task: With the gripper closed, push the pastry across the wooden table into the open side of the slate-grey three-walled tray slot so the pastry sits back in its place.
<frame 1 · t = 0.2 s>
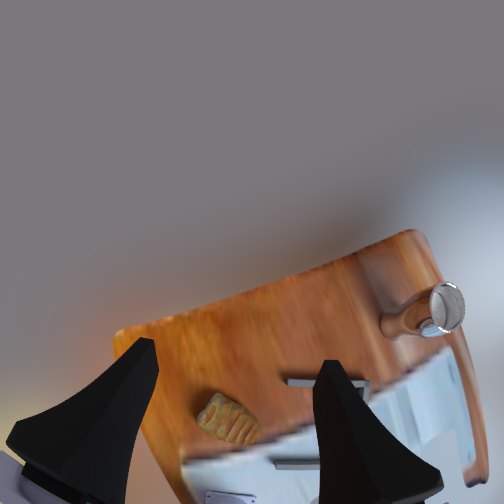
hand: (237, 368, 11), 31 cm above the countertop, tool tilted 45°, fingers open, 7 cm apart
pastry: (228, 417, 37), on the countertop
beer glass: (394, 323, 42), on the countertop
tray slot: (319, 424, 36), on the countertop
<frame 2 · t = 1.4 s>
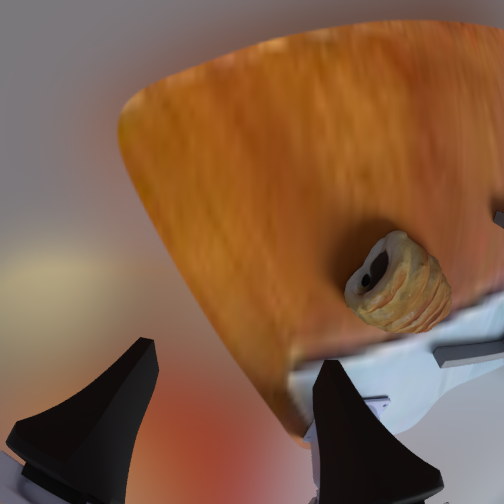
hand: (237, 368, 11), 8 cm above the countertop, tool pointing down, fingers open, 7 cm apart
pastry: (397, 278, 19), on the countertop
tray slot: (502, 293, 19), on the countertop
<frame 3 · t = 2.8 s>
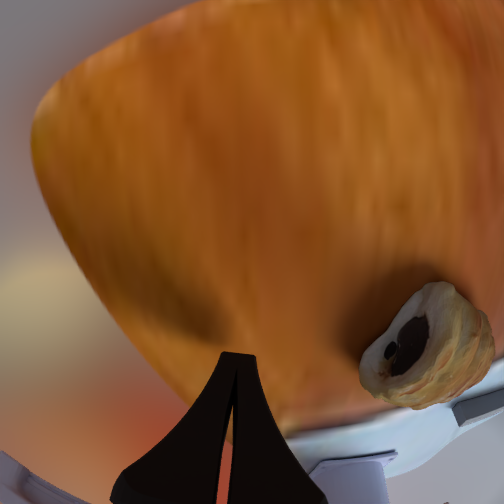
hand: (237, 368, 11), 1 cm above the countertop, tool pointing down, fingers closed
pastry: (429, 336, 12), on the countertop
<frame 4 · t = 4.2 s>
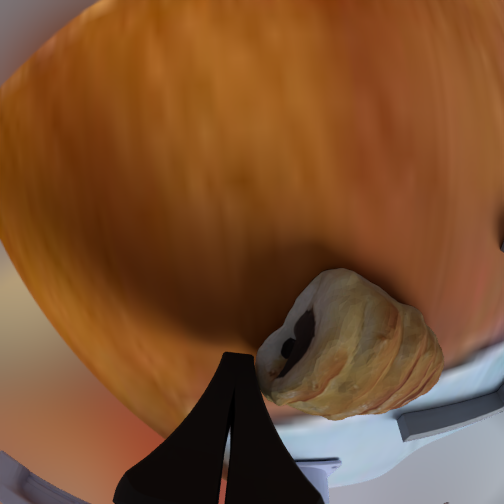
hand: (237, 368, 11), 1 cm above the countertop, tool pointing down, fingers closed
pastry: (353, 334, 12), on the countertop, touching gripper
tray slot: (502, 344, 12), on the countertop
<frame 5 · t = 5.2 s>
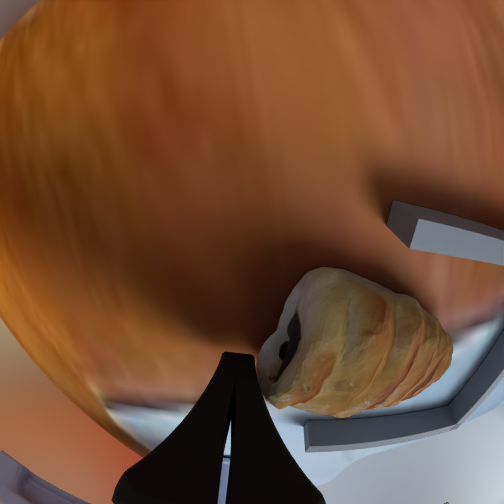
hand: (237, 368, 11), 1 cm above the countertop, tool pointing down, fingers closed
pastry: (353, 329, 12), on the countertop, touching gripper
tray slot: (435, 351, 12), on the countertop
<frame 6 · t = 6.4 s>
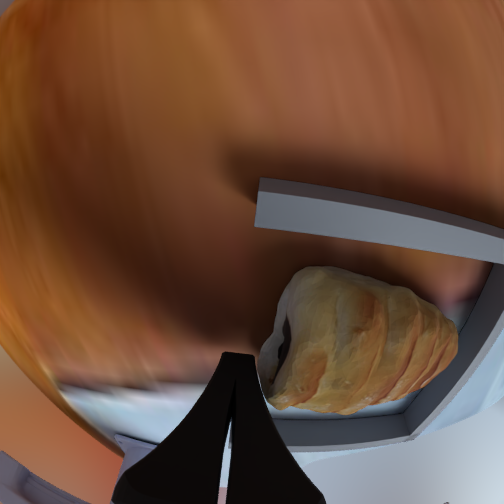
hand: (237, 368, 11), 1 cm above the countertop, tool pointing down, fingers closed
pastry: (353, 325, 12), on the countertop, touching gripper
tray slot: (363, 353, 12), on the countertop
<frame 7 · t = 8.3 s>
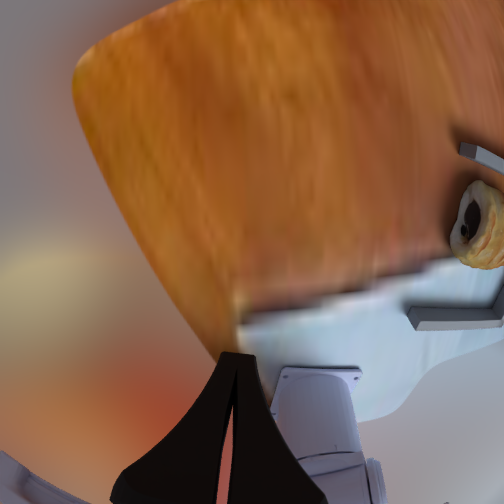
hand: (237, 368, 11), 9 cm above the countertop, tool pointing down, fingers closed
pastry: (481, 222, 17), on the countertop
tray slot: (484, 246, 18), on the countertop
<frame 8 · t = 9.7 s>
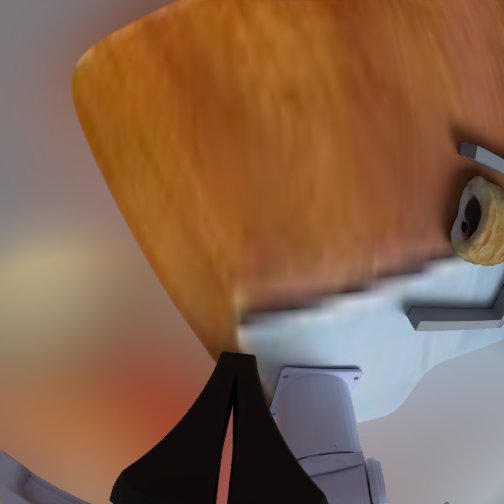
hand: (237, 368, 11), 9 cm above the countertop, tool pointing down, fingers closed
pastry: (481, 218, 17), on the countertop
tray slot: (484, 246, 18), on the countertop
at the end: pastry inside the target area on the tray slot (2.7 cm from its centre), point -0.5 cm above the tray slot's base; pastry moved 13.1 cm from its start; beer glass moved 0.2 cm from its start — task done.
